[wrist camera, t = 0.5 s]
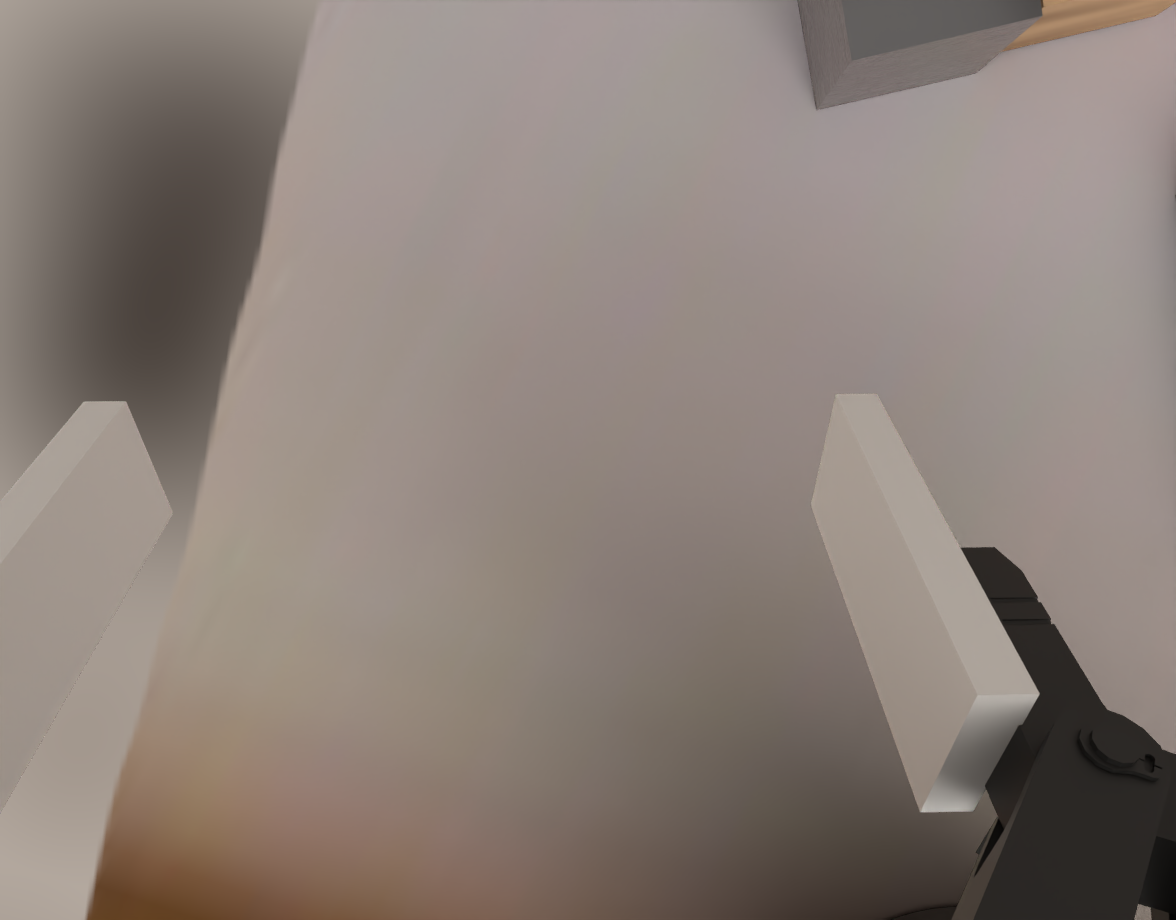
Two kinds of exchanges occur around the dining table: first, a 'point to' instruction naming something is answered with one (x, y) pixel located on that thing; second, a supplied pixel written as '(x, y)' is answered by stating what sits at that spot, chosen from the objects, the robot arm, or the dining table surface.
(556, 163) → the dining table surface
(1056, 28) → the slider
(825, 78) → the frame
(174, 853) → the dining table surface
